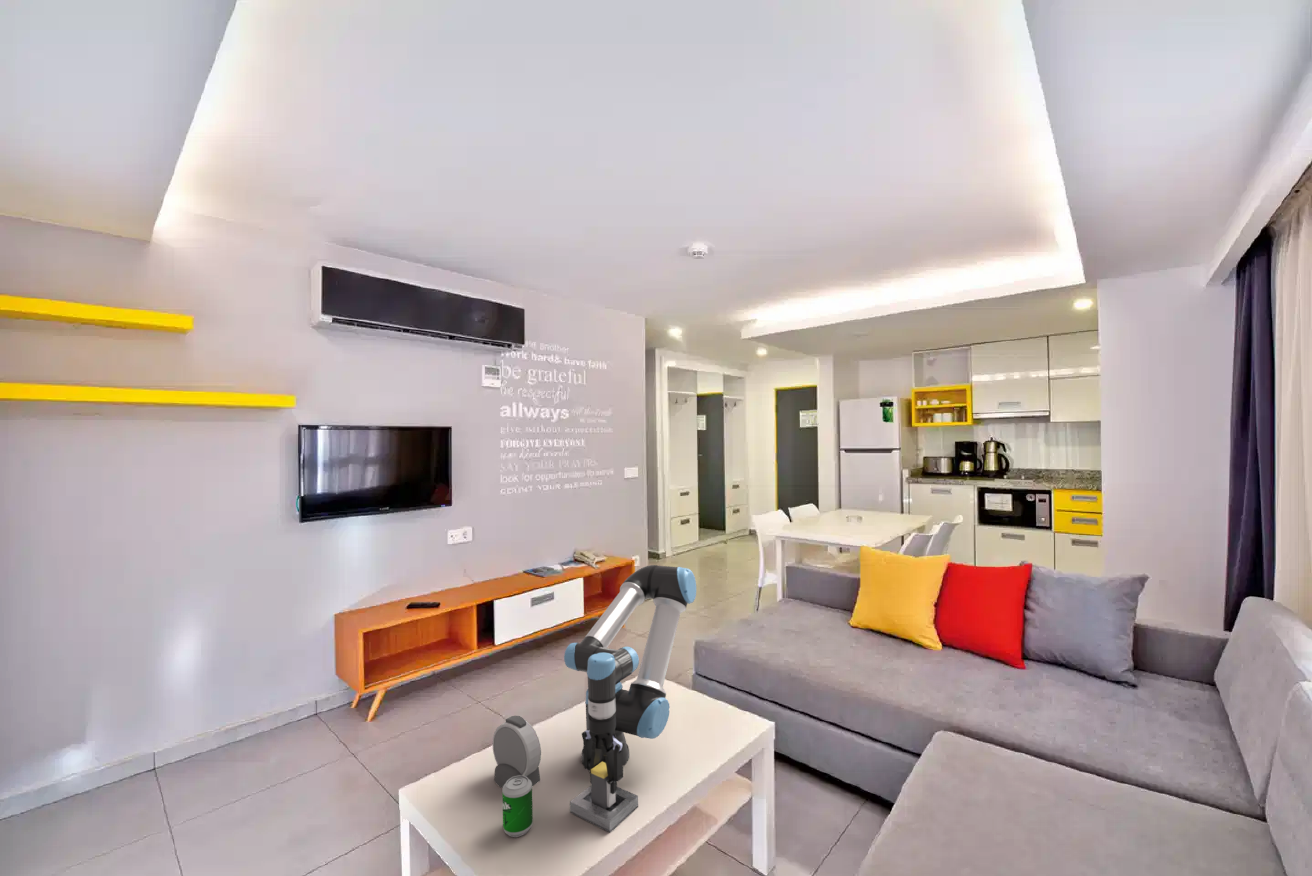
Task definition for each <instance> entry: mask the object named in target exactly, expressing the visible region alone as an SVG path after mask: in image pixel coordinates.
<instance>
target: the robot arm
mask: <svg viewBox="0 0 1312 876" xmlns="http://www.w3.org/2000/svg"><path fill="white" fill-rule="evenodd" d="M696 582H697V581H696V577H695V574H694V572H693V571H692V570H691V569H690V568H688V567H682V566H666V565H657V564H651V565H650V564H649V565H646V566H644V567H641V568H639V569H637V570H636V571H635V572H633V573H632V574H630V575H629V576H628V577H627V578H626V579H625V580H624V582H622V584H621V586H620V587H619V593H617V595H616V596H615V597H614V599H613V600H612V602H610V604H609V605H608V607H606V609H605V610H604V612H603V613H602V615H601V616H600V617H599V618H598V619H597V621H596V622H595V623H594V625H593V626H592V627H591V629H590V630H589V631H588V633H587V634H586V635H585V637H584V638H583V639H582V640H581V642H571V643H569V644H568V645H567V647H566V648H565V651H564V655H563V658H564V660H563V661H564V664H565V666H566V668H568V669H571V670H574V671H576V672H584V673H586V675H587V689H586V692H585V719H586V720H585V721H586V722H585V723H586V724H585V725H586V726H585V727H586V730H584V731H583V732H581V736H582V737H581V738H582V741H583V747H582V750H581V756H580V757H581V764H582V765H583V768H584V770H587V771H588V772H589V776H590V777H589V779H590V780H589V782H590V784H591V769H592V768H594V767H595V766H597V765H598V764H599V763H601V762H605V763H606V767H607V773H608V778H609V780H608V781H607V807H610V806H611V805H613V804H614V803H615V802H616V796H615V792H617V787H618V782H619V781H620V780H621V779H623V778H624V766H625V765H626V764H627V763H628V761H629V759H630V748H629V747H630V746H629V745H628V742H627V739H626V736H625V734H629V735H632V736H637V737H638V738H640V739H644V738H645V739H648V740H649V739H650V740H651V739H656V738H658V737H659V736H660V735H661V734H663V733H662V732H664V730H665V728H666V726H667V724H668V721H669V717H670V707H671V706H670V703H669V701H668V699H667V698H666V697H667V692H666V691H665V688H664V684H665V679H666V676H667V670H668V667H669V663H670V659H671V656H672V655H671V654H672V651H673V646H674V642H675V639H676V633H677V629H678V625H679V620H680V616H681V614H682V613H684V612H686V610H687V606H688V604H692V603H694V602H695V599H696V597H697V583H696ZM650 599H653V600H652V602H653V603H654V606H655V609H654V614H653V615H652V616H653V617H652V620H651V623H650V624H651V625H650V628H649V632H648V635H647V636H648V637H647V639H646V644H645V648H644V650H643V654H642V659H641V663H640V660H639V655H638V652H637V651H636V650H635V649H634V648H633V647H630V646H624V647H620V648H618V649H613V648H608V647H609V646H610V645H611V643H612V642H613V640H614V639H615V637H616V636H617V634H618V633H619V631H621V629H622V628H623V626H624V625H625V624H626V622H627V620H628V619H629V618H630V616H632V614H633V612H634V611H635V610H636V608H637V607H638V606H640V605H642V604H644V602H645V601H646V600H650ZM639 663H640V665H639ZM638 667H639V669H638ZM637 669H638V673H637V678H636V679H635V680H634V681H632V682H630V686H629V688H628V689H627V690H626V689H623V684H622V681H623V680H624V679H626V678H628V677H629V676H631V675H632V674H633V673H634V672H635V671H636V670H637Z"/></svg>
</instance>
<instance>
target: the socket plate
mask: <svg viewBox="0 0 1312 876" xmlns="http://www.w3.org/2000/svg"><path fill="white" fill-rule="evenodd" d="M615 796H616V802H615V803H614V804H613V805H611V806H610V807H607V808H606V809H603V808H601V807H599V806H597V805H595V804H593V803H591V785H589V786H588V787H587V788H586V789H584V790H583V791H581V792H580V793H579V794H578V795H577V796H575V797H574V798H573V799H571V800H570V801H569V808H570V809H569V811H570V812H569V813H570V814H572V815H574V816H576V817H577V818H580V819H582V820H584V821H586V822H587V823H589V824H592V825H593V826H596V827H597V828H599V829H602V830H604V831H606V832H608V833H611V832H613V831H614V830H615V829H616V828H617V827H618V826H619V825H620V824H622V822H623V821H625V820H626V819H627V818H628V817H629V816H630V815H631V814H632V813H633V812H635V810H637V808H639V795H637V794H635V793H633V792H630V791H628V790H626V789H624V788H621V787H619V786H617V792H615Z"/></svg>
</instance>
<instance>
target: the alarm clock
mask: <svg viewBox="0 0 1312 876" xmlns="http://www.w3.org/2000/svg"><path fill="white" fill-rule="evenodd" d="M539 738H540V737H539V736H538V734H537V731H536V730H535V727H533V726H532V724H530V722H528V721H527V720H526V719H525V718H523V717H522V716H520V715H512V716H509V717H508V718H506V719H505V722H503V723H502V724H501V723H500V725H498V726H497V727H496V729H495V731H494V734H493V737H492V751H493V752H492V753H493V757H494V760H495V762H496V766H495V768H494V775H493V776H494V777H493V778H494V779H493V781H494V783H495V784H496V785H497V786H498V787H499V788H501V789H503V786H504V784H505V783H506V782H507V780H509V779H510V778H512V777H514V776H519V775H520V776H526V777H527V778H528V779H529V780H531V782H532V787H534V786H535V785H536V784H538V783H539V782H541V777H540V763H541V759H542V758H541V757H542V749H541V742H540V739H539Z"/></svg>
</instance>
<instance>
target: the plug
mask: <svg viewBox="0 0 1312 876" xmlns="http://www.w3.org/2000/svg"><path fill="white" fill-rule="evenodd" d="M608 780H609V778H608V773H607V767H606V763H605V762H601V763H599V764H598V765H597V766H595V767H594V768H592V769H591V783H590V786H591V803H593V804H595V805H597V806H599V807H601V808H603V809H606V808H607V781H608Z"/></svg>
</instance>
